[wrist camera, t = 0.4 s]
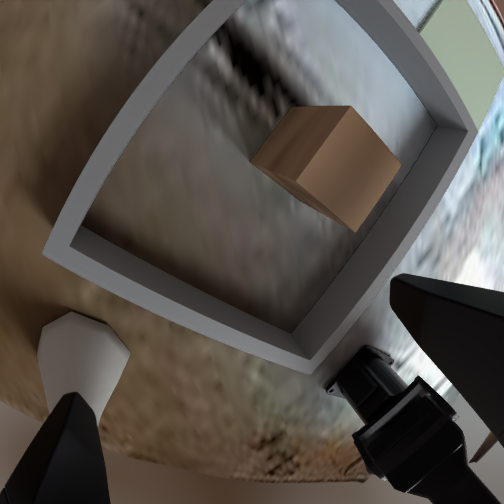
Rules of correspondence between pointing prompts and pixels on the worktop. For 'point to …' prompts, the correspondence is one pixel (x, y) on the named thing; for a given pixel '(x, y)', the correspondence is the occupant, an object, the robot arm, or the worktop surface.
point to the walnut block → (329, 161)
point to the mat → (464, 55)
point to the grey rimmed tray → (358, 266)
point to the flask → (80, 360)
